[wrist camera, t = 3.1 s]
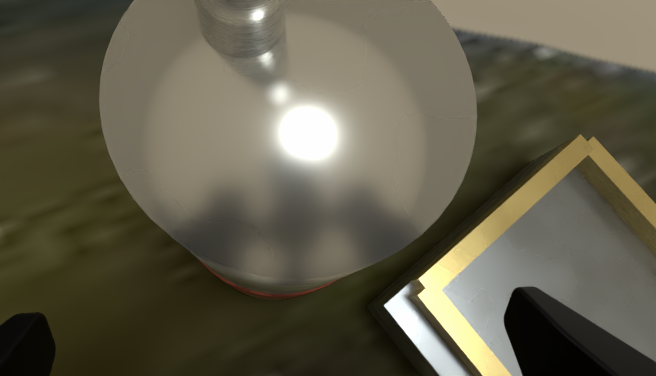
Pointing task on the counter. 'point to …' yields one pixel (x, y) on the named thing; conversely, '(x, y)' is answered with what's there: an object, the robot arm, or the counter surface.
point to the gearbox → (531, 265)
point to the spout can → (288, 131)
